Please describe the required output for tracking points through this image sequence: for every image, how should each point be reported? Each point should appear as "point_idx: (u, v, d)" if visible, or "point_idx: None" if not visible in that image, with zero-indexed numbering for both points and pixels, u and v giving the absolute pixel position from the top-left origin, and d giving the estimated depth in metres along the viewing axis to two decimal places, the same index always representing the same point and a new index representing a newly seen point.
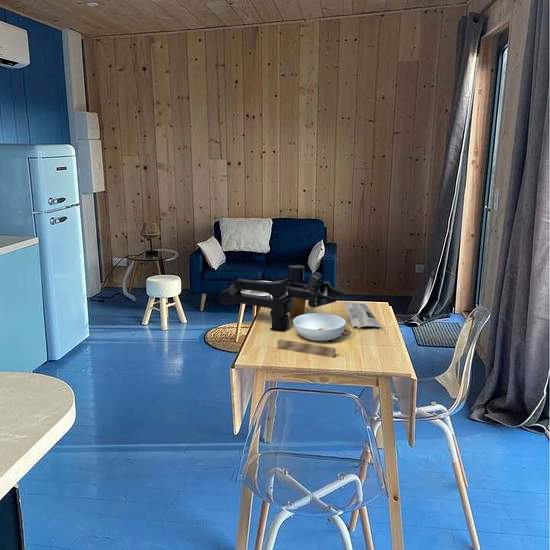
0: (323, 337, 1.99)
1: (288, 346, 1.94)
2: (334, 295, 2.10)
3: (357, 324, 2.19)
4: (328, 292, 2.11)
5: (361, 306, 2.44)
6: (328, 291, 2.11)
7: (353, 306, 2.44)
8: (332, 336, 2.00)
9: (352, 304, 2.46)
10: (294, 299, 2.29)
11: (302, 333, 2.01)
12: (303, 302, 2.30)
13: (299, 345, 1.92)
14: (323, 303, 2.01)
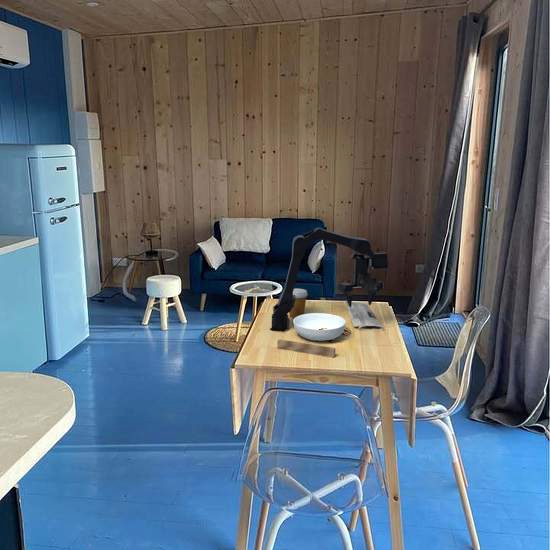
0: (323, 337, 1.99)
1: (288, 346, 1.94)
2: (368, 295, 2.18)
3: (358, 324, 2.19)
4: (370, 290, 2.17)
5: (362, 306, 2.44)
6: (371, 289, 2.16)
7: (354, 306, 2.44)
8: (332, 336, 2.00)
9: (354, 304, 2.46)
10: None
11: (302, 333, 2.01)
12: (303, 302, 2.30)
13: (299, 345, 1.92)
14: (345, 295, 2.14)
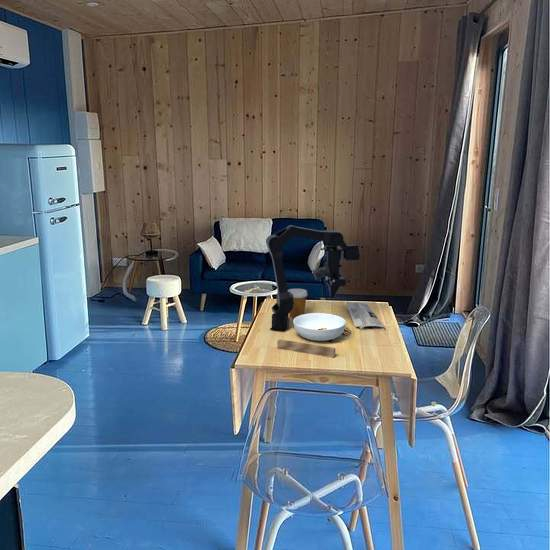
0: (323, 337, 1.99)
1: (288, 346, 1.94)
2: None
3: (359, 324, 2.19)
4: None
5: (363, 306, 2.44)
6: None
7: (355, 306, 2.44)
8: (332, 336, 2.00)
9: (354, 304, 2.46)
10: (294, 299, 2.29)
11: (302, 333, 2.01)
12: (303, 302, 2.30)
13: (299, 345, 1.92)
14: None
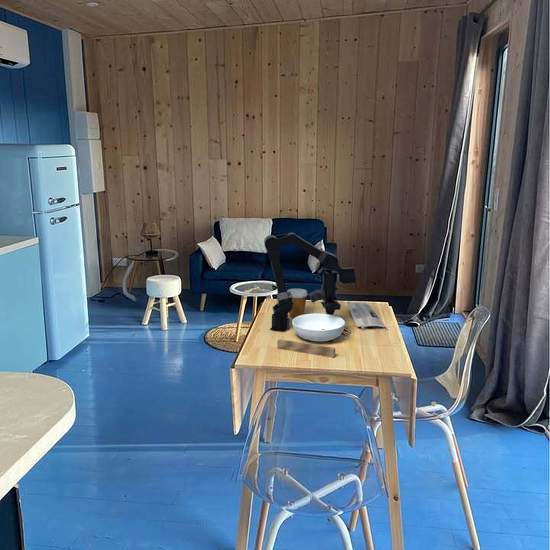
0: (322, 338, 1.98)
1: (288, 346, 1.94)
2: None
3: (361, 324, 2.19)
4: None
5: (364, 306, 2.44)
6: None
7: (356, 306, 2.44)
8: (331, 337, 1.99)
9: (355, 304, 2.46)
10: (294, 299, 2.29)
11: (301, 334, 2.00)
12: (303, 302, 2.30)
13: (299, 345, 1.92)
14: None
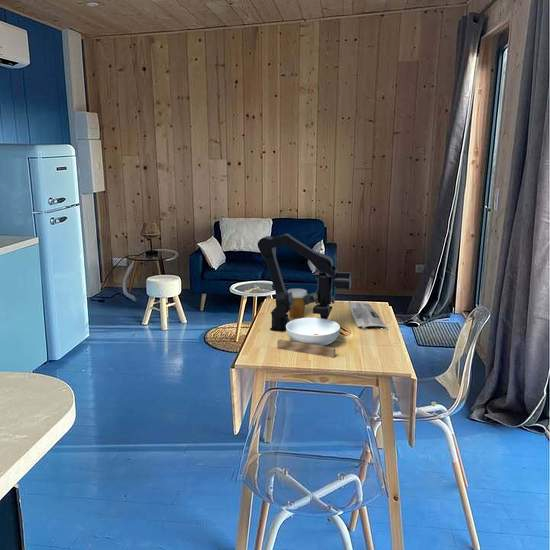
0: (317, 343, 1.92)
1: (288, 346, 1.94)
2: None
3: (362, 324, 2.19)
4: None
5: (365, 306, 2.44)
6: None
7: (357, 306, 2.44)
8: (326, 342, 1.93)
9: (356, 304, 2.46)
10: (294, 299, 2.29)
11: (295, 339, 1.95)
12: (303, 302, 2.30)
13: (299, 345, 1.92)
14: None
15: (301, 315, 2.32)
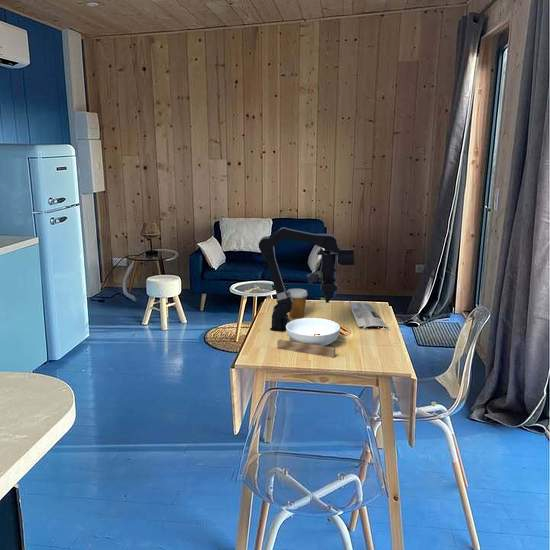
0: (317, 343, 1.92)
1: (288, 346, 1.94)
2: None
3: (363, 324, 2.20)
4: None
5: (366, 306, 2.44)
6: None
7: (358, 306, 2.44)
8: (326, 342, 1.93)
9: (357, 304, 2.47)
10: (294, 299, 2.29)
11: (295, 339, 1.95)
12: (303, 302, 2.30)
13: (299, 345, 1.92)
14: None
15: (301, 315, 2.32)
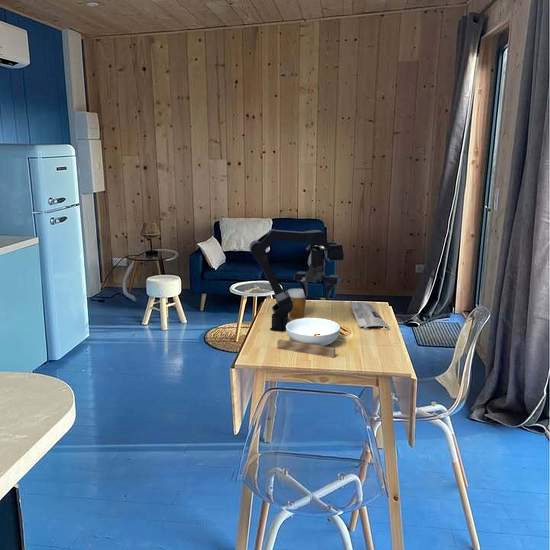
0: (317, 343, 1.92)
1: (288, 346, 1.94)
2: None
3: (364, 324, 2.20)
4: None
5: (367, 306, 2.44)
6: None
7: (359, 306, 2.44)
8: (326, 342, 1.93)
9: (358, 304, 2.47)
10: (294, 299, 2.29)
11: (295, 339, 1.95)
12: (303, 302, 2.30)
13: (299, 345, 1.92)
14: None
15: (301, 315, 2.32)
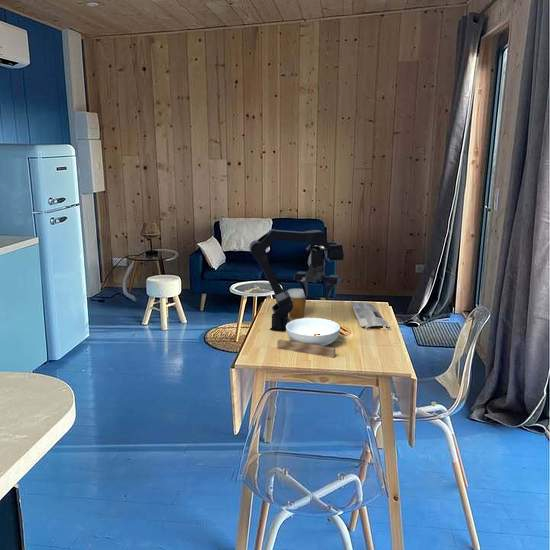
0: (317, 343, 1.92)
1: (288, 346, 1.94)
2: None
3: (365, 324, 2.20)
4: None
5: (368, 306, 2.44)
6: None
7: (360, 306, 2.44)
8: (326, 342, 1.93)
9: (359, 304, 2.47)
10: (294, 299, 2.29)
11: (295, 339, 1.95)
12: (303, 302, 2.30)
13: (299, 345, 1.92)
14: None
15: (301, 315, 2.32)
